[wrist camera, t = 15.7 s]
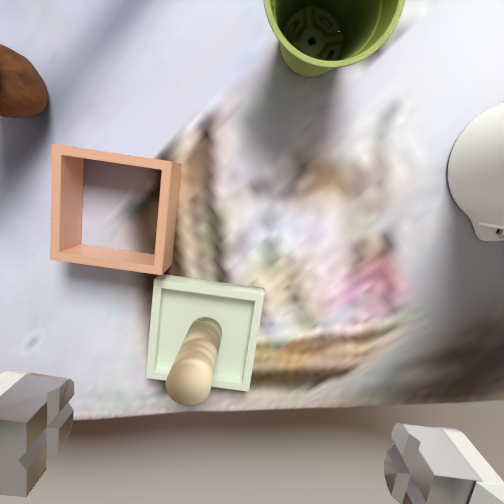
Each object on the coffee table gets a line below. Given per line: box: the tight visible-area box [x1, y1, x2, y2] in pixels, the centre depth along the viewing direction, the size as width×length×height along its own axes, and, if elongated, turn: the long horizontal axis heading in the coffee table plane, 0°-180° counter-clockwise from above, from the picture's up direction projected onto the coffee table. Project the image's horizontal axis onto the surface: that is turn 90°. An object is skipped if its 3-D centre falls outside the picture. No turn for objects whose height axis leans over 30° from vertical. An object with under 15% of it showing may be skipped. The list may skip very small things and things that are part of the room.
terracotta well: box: [50, 144, 182, 275], centre depth 40 cm, size 13×13×5 cm
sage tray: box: [146, 274, 264, 392], centre depth 45 cm, size 14×14×2 cm
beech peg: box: [166, 317, 222, 406], centre depth 39 cm, size 4×4×12 cm
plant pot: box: [264, 0, 405, 77], centre depth 33 cm, size 12×12×11 cm
